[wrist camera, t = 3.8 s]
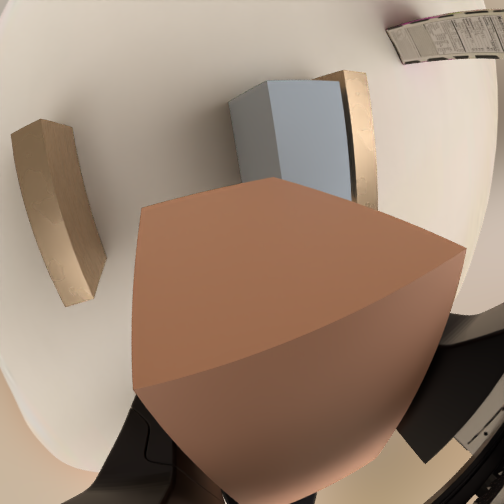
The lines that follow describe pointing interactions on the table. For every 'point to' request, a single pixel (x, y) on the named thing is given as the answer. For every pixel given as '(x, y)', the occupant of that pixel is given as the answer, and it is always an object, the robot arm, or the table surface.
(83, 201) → the bookend slide
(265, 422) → the rust book
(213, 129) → the table surface
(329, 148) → the blue book
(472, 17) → the candy bar box
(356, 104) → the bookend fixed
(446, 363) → the robot arm
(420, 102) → the table surface
